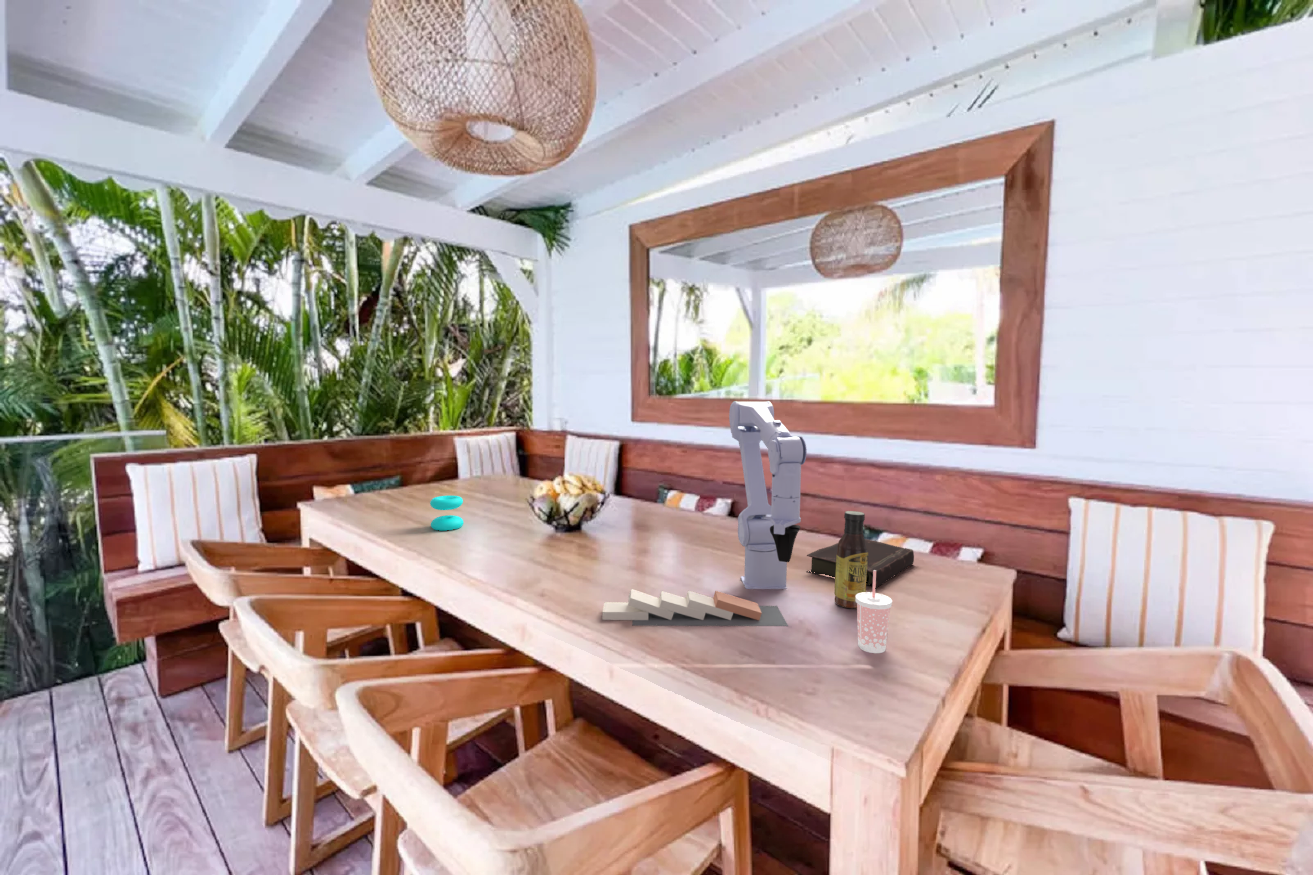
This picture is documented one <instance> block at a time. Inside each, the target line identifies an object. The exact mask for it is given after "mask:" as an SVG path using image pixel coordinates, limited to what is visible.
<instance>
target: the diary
mask: <svg viewBox="0 0 1313 875" xmlns="http://www.w3.org/2000/svg"><path fill="white" fill-rule="evenodd" d="M864 540H865V544H866V548H867V551H868V561H867V577H866V582H867V581H869V582H867V583H866V585H869V586H870V584H871V585H873V570H876V587H875V588H876V589H877V588H879V587H880V586H882V585H883V584H884V583H886V582H887V581H889V580H891V579H892V578H894V577H895V576H894V575H896V574H897V575H899V574H900V573H901V572H903V571H904V570H906V569H907V567H908V566H910V565H911V566H913V565H914V562H915V560H914V559H915V554H914V550H913V549H911V548H908V547H907V548H906V547H905V548H904V547H901V546H897V545H892V544H889V543H885V542H881V541H876V540H871V539H866V538H864ZM837 551H838V542H836V543H834V544H832V545H830V546H827V547H822V548H819V549H817V550H815V551H812V552H811V553H808V554H807V555H806V557H808V558H811V567H810V568H811V569H810V570H811V572H812V575H816V574H825V575H829V576H832V577H835V576H836V559H837ZM912 564H913V565H912ZM911 566H910V567H911ZM905 568H906V569H905ZM908 568H909V567H908ZM902 570H903V571H902ZM808 571H809V570H807V571H806V573H807V572H808ZM900 571H901V572H900ZM811 572H810V571H809V573H808V574H811ZM814 572H815V573H814ZM899 572H900V573H899ZM898 573H899V574H898ZM897 575H896V576H897ZM893 576H894V577H893ZM891 577H892V578H891ZM890 578H891V579H890ZM888 579H889V580H888ZM886 580H887V581H886ZM885 581H886V582H885ZM882 583H883V584H882ZM879 585H880V586H879ZM878 586H879V587H878Z"/></svg>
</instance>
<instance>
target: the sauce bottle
mask: <svg viewBox="0 0 1313 875" xmlns="http://www.w3.org/2000/svg"><path fill="white" fill-rule="evenodd" d="M843 516H844V517H843V518H844V529H843V532H844V533H843V534H842V536H841V537H840V539H839V540H838V542H837V543H838V551H837V559H836V576H835V579H834V592H833V593H834V603H835V604H836V605H838V606H840V607H842V608H847V609H857V603H856V597H855V596H856V595H857V594H858V593H862V592H867V590H866V589H867V586H866V585H867V583H866V577H867V561H868V551H867V548H866V544H865V540H864V539H865V536H864V522H865V519H866V515H865V513H864V512H862V511H855V510H846V511H844V515H843Z"/></svg>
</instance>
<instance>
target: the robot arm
mask: <svg viewBox="0 0 1313 875" xmlns="http://www.w3.org/2000/svg"><path fill="white" fill-rule="evenodd" d="M771 402H772V401H769V400H766V401H737V400H736V401H733V402H732V403H731V404H730V407H729V412H728V413H729V414H728V416H729V417H728V419H729V420H728V421H729V426H730V427H729V428H730V433H731V437H732V438H733V439H734V440H735V441H737V443H738V446H739V451H740V457H741V464H742V473H743V479H744V485H745V486H744V488H745V495H746V501H747V502H746V504H747V507H745V508H743V510H742V511H741V512H740V513H739V515H738V516H737V537H738V541H739V543H740V545H741V546H742V547H744V575H741V576H740V580H741V582H742V583H743V586H744V588H745V589H746V590H786V589H788V587H787V576H788V575H787V574H788V573H787V572H788V569H787V568H788V567H787V566H788V563H789V562H790V561H791V559H792V554H793V550H794V545H795V542H796V539H797V535H798V533H799V531H800V529H801V525H798V524H799V523H801V522H802V521H801V519H802V518H801V517H800V516H801V512H800V511H801V481H802V480H801V479H802V478H801V477H802V465H804V464H805V463H806V459H807V450H808V449H807V444H806V441H805V439H804V438H803V436H802V435H799V436H793V434H792V433H791V432H790V430H788V428H787V427H786V426H785V424H783V423H782V421H781V420H780V419H776V420H775V410H774V405H773V404H772V403H771ZM761 441H762V443H763V444H764V445H765V447H766V449H767V456H768V462H769V472H770V473H771V503H769V501H768V499H769V498H768V493H767V486H766V481H765V480H766V479H765V474H764V467H763V459H762V458H763V457H762V452H761V447H760V446H761V444H760V443H761ZM770 504H771V505H770Z"/></svg>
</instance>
